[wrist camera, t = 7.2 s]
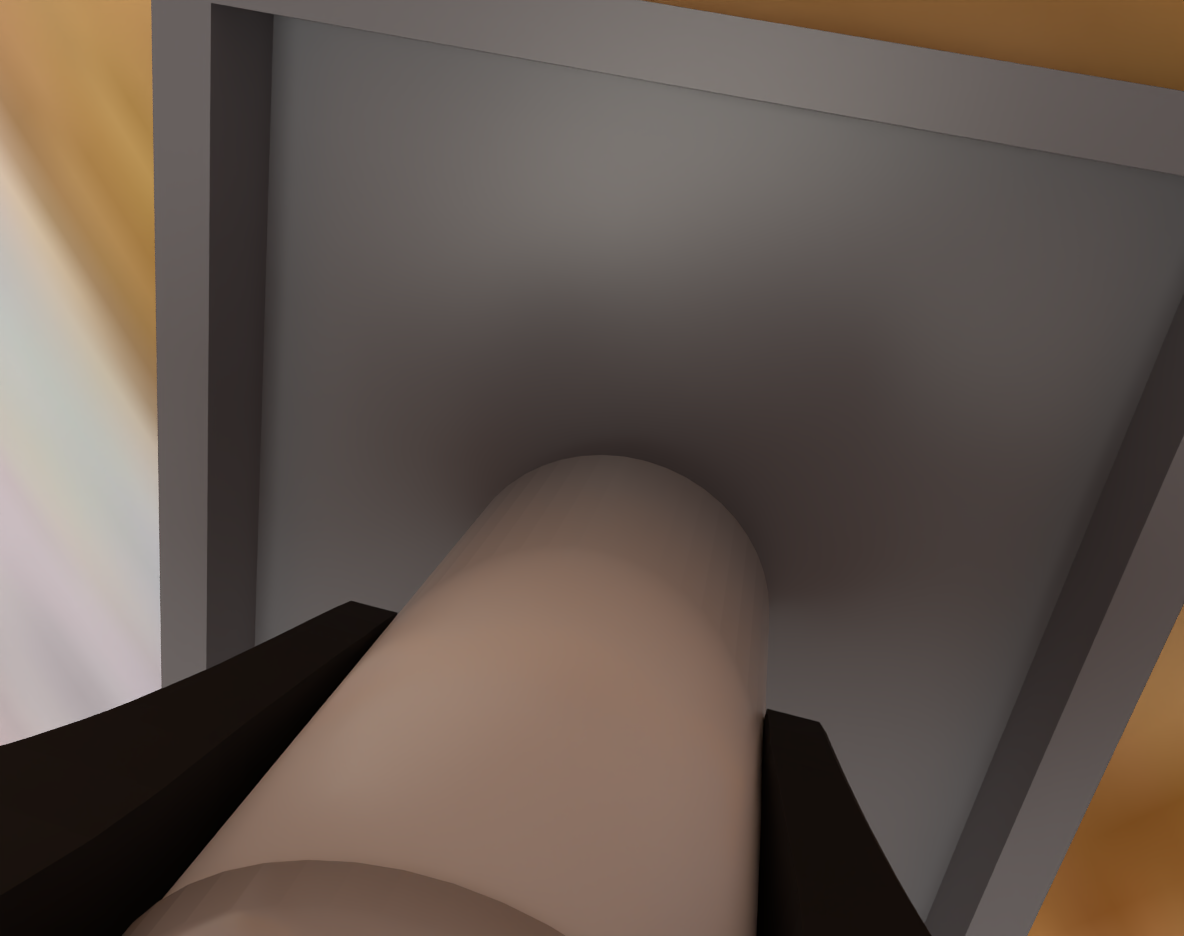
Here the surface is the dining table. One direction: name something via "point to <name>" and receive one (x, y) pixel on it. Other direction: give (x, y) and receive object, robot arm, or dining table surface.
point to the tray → (696, 360)
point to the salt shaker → (526, 738)
